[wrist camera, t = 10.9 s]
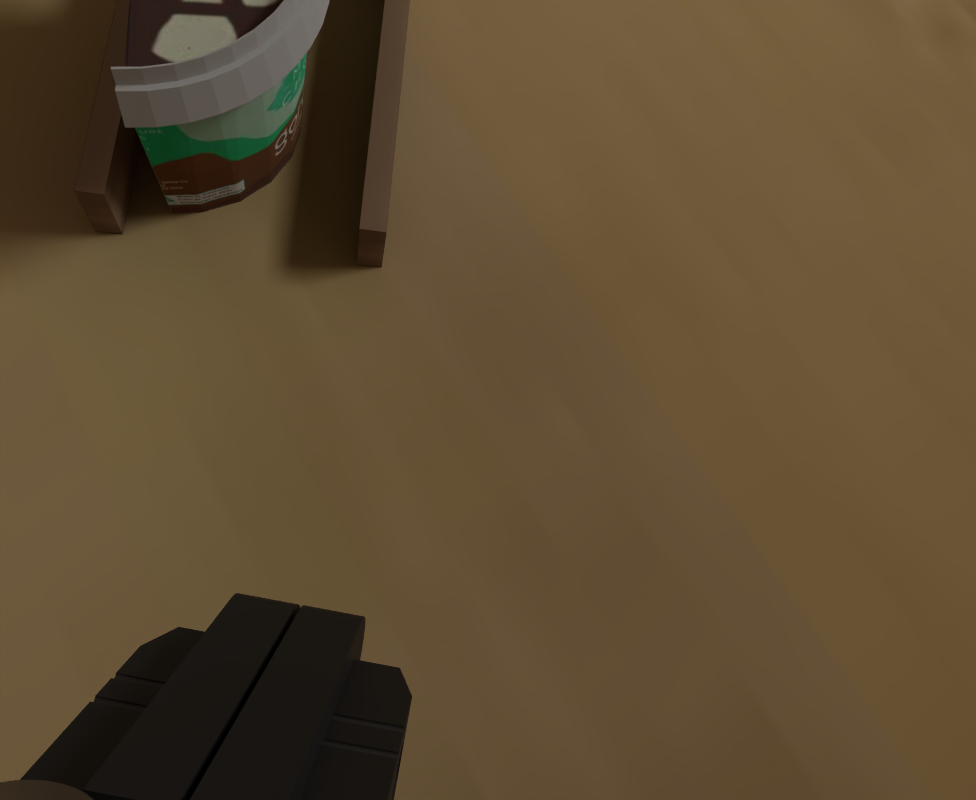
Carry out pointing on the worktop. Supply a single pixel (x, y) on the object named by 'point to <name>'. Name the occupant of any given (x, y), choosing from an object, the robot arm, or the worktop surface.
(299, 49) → the food container
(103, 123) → the bay
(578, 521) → the worktop surface
